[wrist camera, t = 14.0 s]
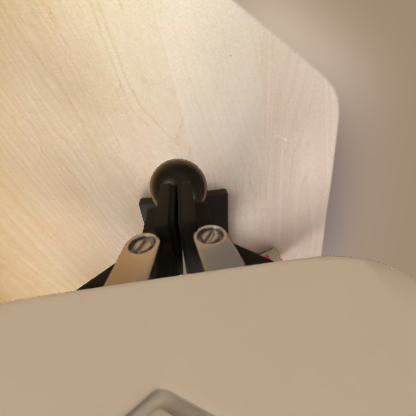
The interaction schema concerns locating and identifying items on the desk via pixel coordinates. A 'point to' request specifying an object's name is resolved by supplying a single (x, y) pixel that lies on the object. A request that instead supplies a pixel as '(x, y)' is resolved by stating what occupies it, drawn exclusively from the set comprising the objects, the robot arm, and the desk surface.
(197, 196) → the lever
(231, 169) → the desk surface
